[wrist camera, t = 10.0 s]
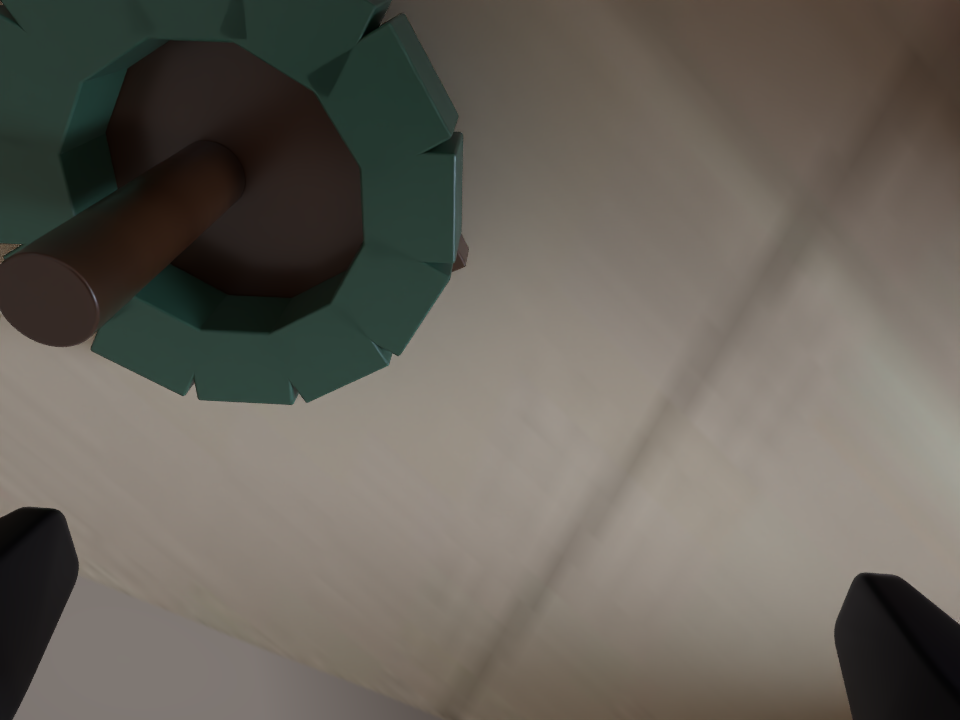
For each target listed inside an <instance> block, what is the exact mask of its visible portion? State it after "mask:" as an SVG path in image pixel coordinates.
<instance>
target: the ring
mask: <svg viewBox="0 0 960 720" xmlns="http://www.w3.org/2000/svg"><path fill="white" fill-rule="evenodd" d="M0 1H1V2H2V3H3V5H0V243H6V244H22V245H20V246H19V247H17V248H16V249H14V250H12V251H11V252H9V253H7V254H6V255H4V257H3V258H4V259H7V258H8V257H10V256H11V255H13V254H15V253H16V252H18V251H19V250H21V249H23V248H24V247H26V246H27V245H29V244H31V243H32V242H34V241H35V240H37V239H39V238H40V237H42V236H43V235H45V234H47V233H48V232H50V231H52V230H53V229H55V228H56V227H58V226H60V225H61V224H63V223H64V222H66V221H68V220H69V219H71V218H72V217H74V216H76V215H77V214H79V213H80V212H82V211H84V210H85V209H87V208H88V207H90V206H92V205H93V204H95V203H97V202H98V201H100V200H101V199H103V198H105V197H106V196H108V195H109V194H111V193H113V192H114V191H116V190H117V189H118V188H117V183H116V179H115V174H114V169H113V165H112V160H111V156H110V151H109V146H108V142H107V137H106V133H105V132H106V129H107V127H108V124H109V121H110V118H111V115H112V112H113V109H114V106H115V104H116V101H117V98H118V95H119V92H120V89H121V86H122V83H123V81H124V78H125V75H126V72H127V69H128V68H129V67H130V66H132V65H133V64H135V63H136V62H138V61H139V60H141V59H142V58H144V57H145V56H147V55H148V54H150V53H151V52H153V51H154V50H156V49H157V48H159V47H160V46H162V45H164V44H165V43H167V42H168V41H170V40H178V41H204V42H230V43H235V44H237V45H238V46H240V47H242V48H243V49H245V50H246V51H248V52H250V53H251V54H253V55H255V56H256V57H258V58H259V59H261V60H263V61H264V62H266V63H267V64H269V65H271V66H272V67H274V68H275V69H277V70H279V71H280V72H282V73H284V74H285V75H287V76H288V77H290V78H292V79H293V80H295V81H296V82H298V83H300V84H301V85H303V86H305V87H306V88H308V89H309V90H311V91H313V92H314V94H315V95H316V97H317V99H318V100H319V102H320V104H321V105H322V107H323V108H324V110H325V112H326V113H327V115H328V117H329V118H330V120H331V122H332V123H333V125H334V126H335V128H336V130H337V131H338V133H339V135H340V136H341V138H342V140H343V141H344V143H345V144H346V146H347V148H348V149H349V151H350V153H351V154H352V156H353V157H354V159H355V161H356V162H357V164H358V166H359V170H360V189H361V208H362V228H363V242H362V244H361V246H360V248H359V249H358V251H357V253H356V255H355V256H354V258H353V260H352V262H351V263H350V265H349V267H348V269H347V270H346V271H344V272H342V273H340V274H338V275H336V276H334V277H332V278H330V279H328V280H326V281H324V282H322V283H320V284H318V285H316V286H314V287H312V288H310V289H308V290H307V291H305V292H303V293H301V294H299V295H297V296H295V297H293V298H279V297H258V296H237V295H228V294H226V293H224V292H222V291H220V290H218V289H216V288H214V287H213V286H211V285H209V284H207V283H205V282H203V281H201V280H200V279H198V278H196V277H194V276H192V275H190V274H188V273H186V272H185V271H183V270H181V269H179V268H177V267H175V266H173V265H171V264H169V265H168V266H167V267H166V268H164V269H163V270H162V271H161V272H160V273H159V274H158V275H157V276H156V277H155V278H154V279H153V280H151V281H150V282H149V283H148V284H147V285H146V286H145V287H144V288H143V289H142V290H141V291H140V292H139V293H137V294H136V295H135V296H134V297H133V298H132V299H131V300H130V301H129V302H128V303H127V304H126V305H125V306H123V307H122V308H121V309H120V310H119V311H118V312H117V313H116V314H115V315H114V316H113V317H112V318H110V319H109V320H108V321H107V322H106V323H105V324H104V325H103V326H102V327H101V328H100V329H99V330H98V331H97V334H96V336H95V339H94V341H93V344H92V346H91V351H92V352H94V353H96V354H99V355H101V356H103V357H105V358H107V359H109V360H111V361H113V362H115V363H117V364H119V365H121V366H123V367H125V368H127V369H129V370H131V371H133V372H135V373H137V374H139V375H141V376H143V377H145V378H147V379H149V380H151V381H153V382H155V383H157V384H159V385H161V386H163V387H165V388H167V389H169V390H171V391H173V392H175V393H177V394H179V395H181V396H184V395H186V394H187V392H188V391H189V390H190V388H191V387H192V385H193V384H194V383H195V386H196V392H197V397H198V399H199V400H207V401H227V402H246V403H266V404H285V405H292V404H294V402H295V400H296V398H297V396H298V394H300V395H301V396H302V398H303V399H304V400H305V402H307V403H308V402H310V401H312V400H314V399H317V398H319V397H321V396H323V395H325V394H327V393H330V392H332V391H334V390H336V389H338V388H340V387H343V386H345V385H347V384H349V383H351V382H354V381H356V380H358V379H360V378H362V377H364V376H367V375H369V374H371V373H373V372H375V371H377V370H380V369H382V368H384V367H386V366H388V365H389V363H390V360H391V356H392V353H393V354H395V355H397V356H399V355H401V353H402V352H403V350H404V349H405V347H406V346H407V344H408V343H409V341H410V340H411V338H412V337H413V335H414V334H415V332H416V330H417V329H418V327H419V326H420V324H421V323H422V321H423V320H424V318H425V317H426V315H427V314H428V312H429V311H430V309H431V308H432V306H433V304H434V303H435V301H436V300H437V298H438V297H439V295H440V294H441V292H442V291H443V289H444V288H445V286H446V285H447V283H448V282H449V280H450V277H451V272H452V267H453V263H455V261H456V256H457V251H458V246H459V241H460V236H461V226H462V171H463V134H462V133H461V132H454V129H455V126H456V123H457V120H458V113H457V111H456V109H455V107H454V106H453V104H452V102H451V100H450V98H449V96H448V94H447V92H446V90H445V89H444V87H443V85H442V83H441V81H440V79H439V77H438V75H437V74H436V72H435V70H434V68H433V66H432V64H431V62H430V60H429V58H428V57H427V55H426V53H425V51H424V49H423V47H422V45H421V43H420V42H419V40H418V38H417V36H416V34H415V32H414V30H413V28H412V26H411V25H410V23H409V21H408V19H407V17H406V15H405V14H404V13H401V14H399V15H398V16H396V17H394V18H393V19H391V20H390V21H388V22H386V23H385V24H383V25H381V26H380V27H379V25H380V23H381V21H382V19H383V17H384V15H385V13H386V11H387V9H388V7H389V5H390V3H391V1H392V0H0Z"/></svg>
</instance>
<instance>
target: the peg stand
mask: <svg viewBox="0 0 960 720" xmlns="http://www.w3.org/2000/svg"><path fill="white" fill-rule="evenodd" d="M105 133H106V137H107V142H108V146H109V151H110V156H111V160H112V165H113V169H114V174H115V179H116V183H117V188H118V189H117V190H116V191H114V192H113V193H111V194H109V195H108V196H106V197H105V198H103V199H101V200H100V201H98V202H97V203H95V204H93V205H92V206H90V207H88V208H87V209H85V210H84V211H82V212H80V213H79V214H77V215H76V216H74V217H72V218H71V219H69V220H68V221H66V222H64V223H63V224H61V225H60V226H58V227H56V228H55V229H53V230H52V231H50V232H48V233H47V234H45V235H43V236H42V237H40V238H39V239H37V240H35V241H34V242H32V243H31V244H29V245H27V246H26V247H24V248H23V249H21V250H19V251H18V252H16V253H15V254H13V255H11V256H10V257H8V258H7V259H5V260H4V261H3V262H2V263H1V264H0V311H1V312H2V314H3V315H4V317H5V318H6V319H7V321H8V322H9V323H10V324H11V325H12V326H13V327H14V328H16V329H17V330H18V331H19V332H21V333H22V334H23V335H25V336H27V337H28V338H30V339H32V340H34V341H36V342H39V343H41V344H45V345H49V346H54V347H69V346H74V345H77V344H80V343H82V342H84V341H86V340H87V339H89V338H90V337H91V336H92V335H93V334H94V333H95V332H96V331H98V330H99V329H100V328H101V327H102V326H103V325H104V324H105V323H106V322H107V321H108V320H109V319H110V318H112V317H113V316H114V315H115V314H116V313H117V312H118V311H119V310H120V309H121V308H122V307H123V306H125V305H126V304H127V303H128V302H129V301H130V300H131V299H132V298H133V297H134V296H135V295H136V294H137V293H139V292H140V291H141V290H142V289H143V288H144V287H145V286H146V285H147V284H148V283H149V282H150V281H151V280H153V279H154V278H155V277H156V276H157V275H158V274H159V273H160V272H161V271H162V270H163V269H164V268H166V267H167V266H168V265H169V264H171V265H173V266H175V267H177V268H179V269H181V270H183V271H185V272H186V273H188V274H190V275H192V276H194V277H196V278H198V279H200V280H201V281H203V282H205V283H207V284H209V285H211V286H213V287H214V288H216V289H218V290H220V291H222V292H224V293H226V294H228V295H237V296H258V297H279V298H293V297H295V296H297V295H299V294H301V293H303V292H305V291H307V290H308V289H310V288H312V287H314V286H316V285H318V284H320V283H322V282H324V281H326V280H328V279H330V278H332V277H334V276H336V275H338V274H340V273H342V272H344V271H346V270H347V269H348V267H349V265H350V263H351V262H352V260H353V258H354V256H355V255H356V253H357V251H358V249H359V248H360V246H361V244H362V242H363V228H362V208H361V189H360V170H359V166H358V164H357V162H356V161H355V159H354V157H353V156H352V154H351V153H350V151H349V149H348V148H347V146H346V144H345V143H344V141H343V140H342V138H341V136H340V135H339V133H338V131H337V130H336V128H335V126H334V125H333V123H332V122H331V120H330V118H329V117H328V115H327V113H326V112H325V110H324V108H323V107H322V105H321V104H320V102H319V100H318V99H317V97H316V95H315V94H314V92H313V91H311V90H309V89H308V88H306V87H305V86H303V85H301V84H300V83H298V82H296V81H295V80H293V79H292V78H290V77H288V76H287V75H285V74H284V73H282V72H280V71H279V70H277V69H275V68H274V67H272V66H271V65H269V64H267V63H266V62H264V61H263V60H261V59H259V58H258V57H256V56H255V55H253V54H251V53H250V52H248V51H246V50H245V49H243V48H242V47H240V46H238V45H237V44H235V43H230V42H204V41H178V40H170V41H168V42H167V43H165V44H164V45H162V46H160V47H159V48H157V49H156V50H154V51H153V52H151V53H150V54H148V55H147V56H145V57H144V58H142V59H141V60H139V61H138V62H136V63H135V64H133V65H132V66H130V67H129V68H128V69H127V72H126V75H125V78H124V81H123V83H122V86H121V89H120V92H119V95H118V98H117V101H116V104H115V106H114V109H113V112H112V115H111V118H110V121H109V124H108V127H107V129H106V132H105ZM468 250H469V248H468V246H467V244H466V242H465V240H464V238H463V236H462V234H461V236H460V241H459V246H458V251H457V256H456V261H455V263H453V267H452V272H454V271H456V270H458V269H461V268H463V267H465V266H466V262H467V256H468Z"/></svg>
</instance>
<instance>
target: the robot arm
mask: <svg viewBox="0 0 960 720" xmlns="http://www.w3.org/2000/svg"><path fill="white" fill-rule="evenodd" d="M78 570H79V562H78V557H77V554H76V550H75V547H74V544H73V541H72V538H71V534H70V531H69V528H68V525H67V521H66V518H65V516H64V515H63V514H62V513H61V512H60V511H59V510H56V509H51V508H38V507H22V508H19V509H17V510H15V511H13V512H11V513H9V514H7V515H5V516H3V517H2V518H0V720H12V719H13V717H14V715H15V714H16V712H17V710H18V708H19V706H20V704H21V702H22V700H23V698H24V696H25V694H26V692H27V690H28V687H29V685H30V683H31V681H32V679H33V677H34V674H35V672H36V670H37V668H38V665H39V663H40V661H41V659H42V656H43V654H44V652H45V650H46V648H47V645H48V643H49V641H50V639H51V636H52V634H53V632H54V630H55V628H56V625H57V623H58V621H59V619H60V616H61V614H62V612H63V609H64V607H65V605H66V603H67V601H68V599H69V596H70V594H71V592H72V589H73V587H74V585H75V582H76V580H77V576H78ZM834 638H835V645H836V650H837V654H838V658H839V663H840V667H841V671H842V675H843V680H844V684H845V688H846V692H847V697H848V701H849V705H850V710H851V714H852V718H853V720H960V624H958V623H957V622H956V621H955V620H953V619H952V618H951V617H950V616H948V615H947V614H946V613H945V612H944V611H942V610H941V609H940V608H939V607H937V606H936V605H935V604H934V603H932V602H931V601H930V600H929V599H927V598H926V597H925V596H924V595H922V594H921V593H920V592H919V591H917V590H916V589H915V588H914V587H913V586H911V585H910V584H909V583H908V582H906V581H905V580H903V579H902V578H900V577H898V576H895V575H890V574H878V573H860V574H858V575H857V576H856V577H855V578H854V580H853V582H852V584H851V586H850V589H849V591H848V593H847V596H846V598H845V601H844V603H843V605H842V608H841V610H840V613H839V615H838V618H837V620H836V623H835V629H834Z"/></svg>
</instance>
